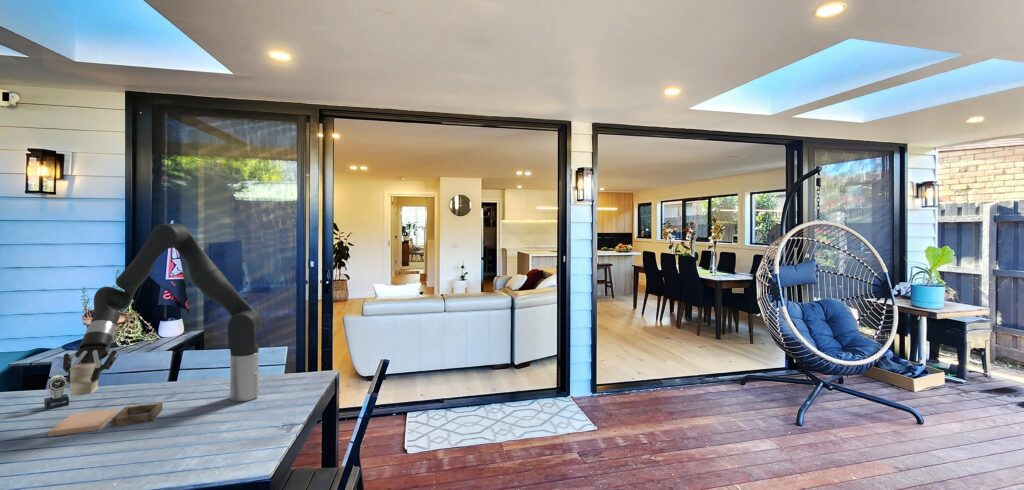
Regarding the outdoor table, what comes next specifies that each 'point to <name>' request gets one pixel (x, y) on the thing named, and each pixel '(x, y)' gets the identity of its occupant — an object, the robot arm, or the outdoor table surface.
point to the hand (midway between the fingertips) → (81, 381)
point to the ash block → (82, 379)
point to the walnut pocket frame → (124, 419)
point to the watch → (57, 393)
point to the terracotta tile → (83, 422)
